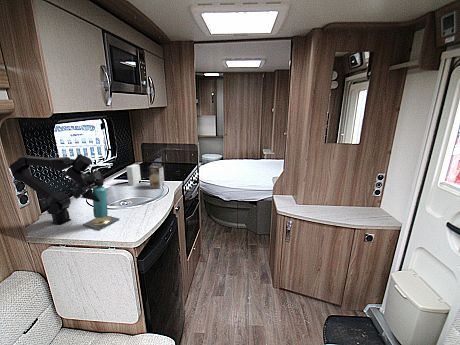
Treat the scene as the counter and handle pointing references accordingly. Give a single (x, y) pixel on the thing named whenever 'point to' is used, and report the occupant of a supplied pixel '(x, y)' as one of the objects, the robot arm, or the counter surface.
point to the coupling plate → (101, 222)
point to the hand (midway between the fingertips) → (102, 198)
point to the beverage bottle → (100, 206)
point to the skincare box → (133, 174)
